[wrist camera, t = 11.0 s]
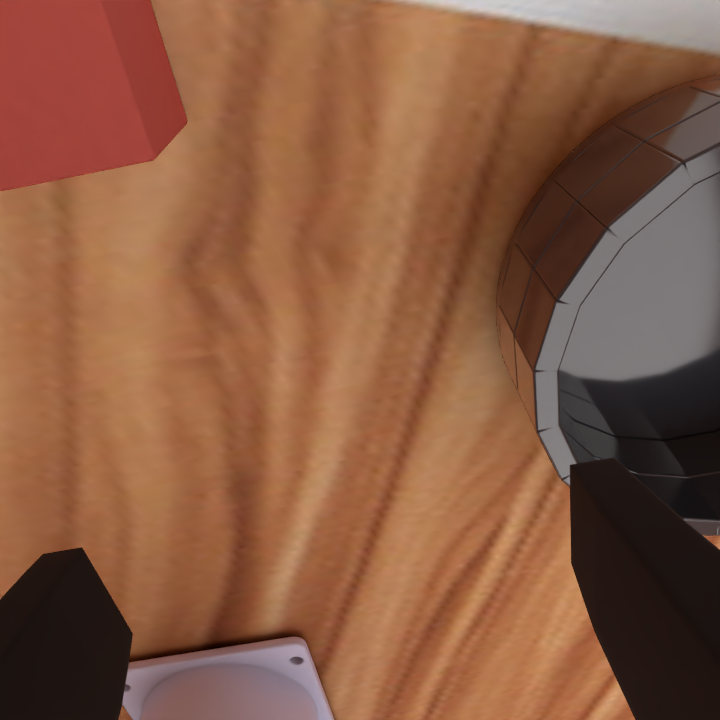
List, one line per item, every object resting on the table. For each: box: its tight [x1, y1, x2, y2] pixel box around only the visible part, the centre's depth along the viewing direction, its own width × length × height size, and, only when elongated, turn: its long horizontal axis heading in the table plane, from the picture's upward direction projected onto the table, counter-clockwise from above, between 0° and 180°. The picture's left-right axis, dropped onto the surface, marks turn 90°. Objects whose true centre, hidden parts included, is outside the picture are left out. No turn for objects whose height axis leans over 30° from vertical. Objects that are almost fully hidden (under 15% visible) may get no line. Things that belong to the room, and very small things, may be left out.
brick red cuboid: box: [0, 0, 187, 191], centre depth 13 cm, size 4×3×4 cm
